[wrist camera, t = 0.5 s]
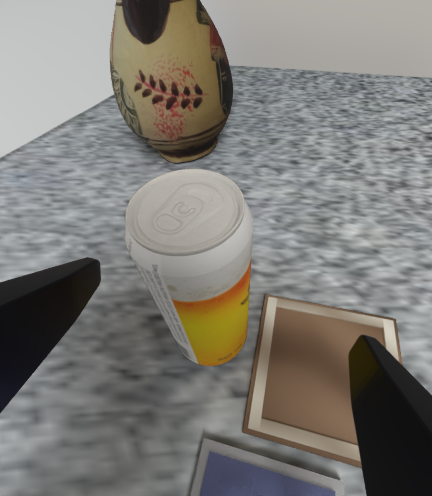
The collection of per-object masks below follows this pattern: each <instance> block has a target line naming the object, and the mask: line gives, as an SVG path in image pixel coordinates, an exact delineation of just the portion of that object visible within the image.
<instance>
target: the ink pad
mask: <svg viewBox="0 0 432 496" xmlns="http://www.w3.org/2000/svg"><path fill="white" fill-rule="evenodd" d="M190 496H345V494H344V482H343V481H340V480H337V479H334V478H331V477H327V476H324V475H321V474H318V473H315V472H311V471H308V470H305V469H302V468H299V467H295V466H292V465H289V464H286V463H283V462H280V461H276V460H273V459H270V458H267V457H264V456H260V455H257V454H254V453H251V452H248V451H244V450H241V449H238V448H235V447H232V446H229V445H225V444H222V443H219V442H216V441H213V440H209V439H206V438H204V439H203V443H202V447H201V452H200V456H199V460H198V464H197V469H196V473H195V477H194V481H193V486H192V490H191V494H190Z"/></svg>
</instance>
